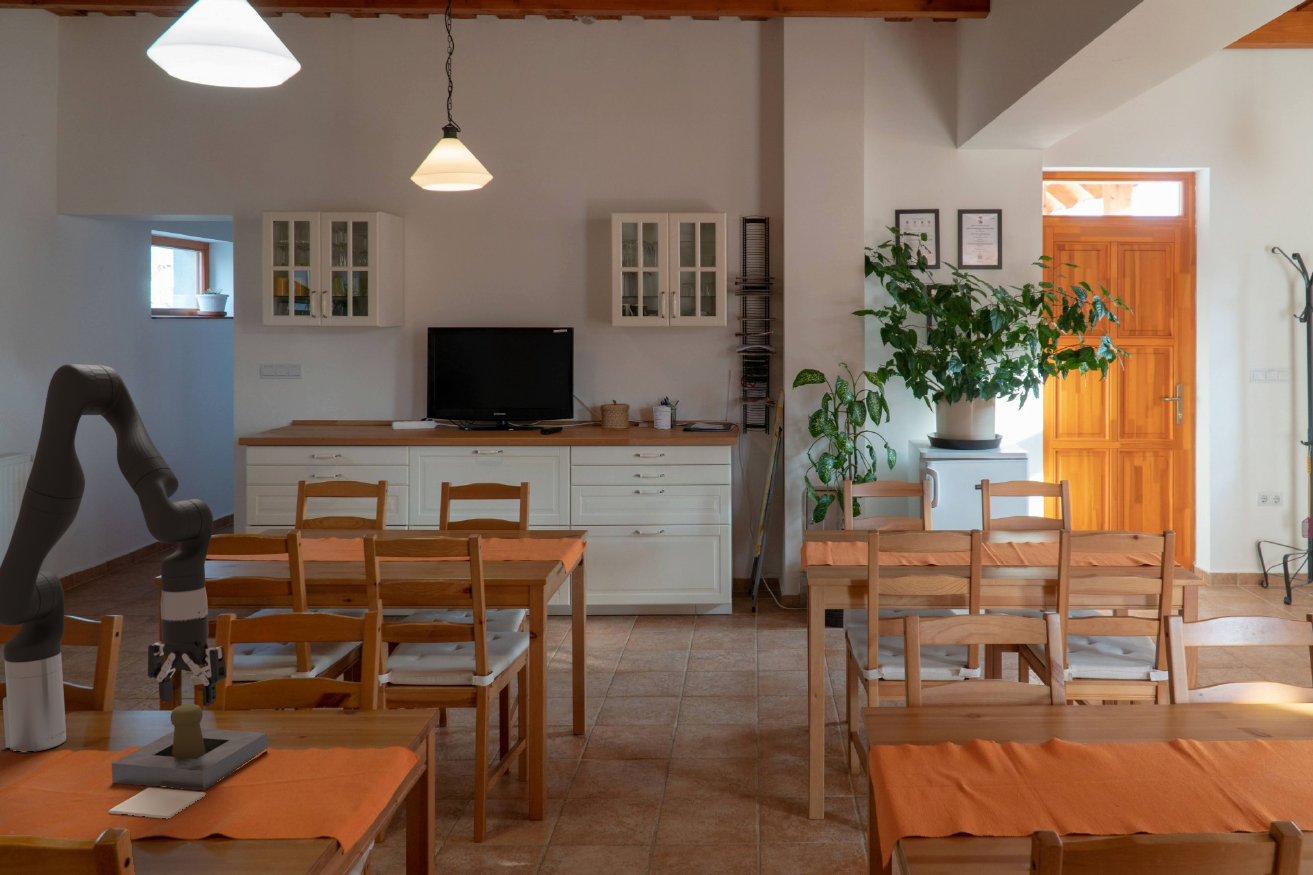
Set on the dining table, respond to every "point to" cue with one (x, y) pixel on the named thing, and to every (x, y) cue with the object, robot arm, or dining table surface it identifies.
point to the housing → (189, 760)
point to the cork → (187, 732)
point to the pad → (157, 803)
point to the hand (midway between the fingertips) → (188, 702)
